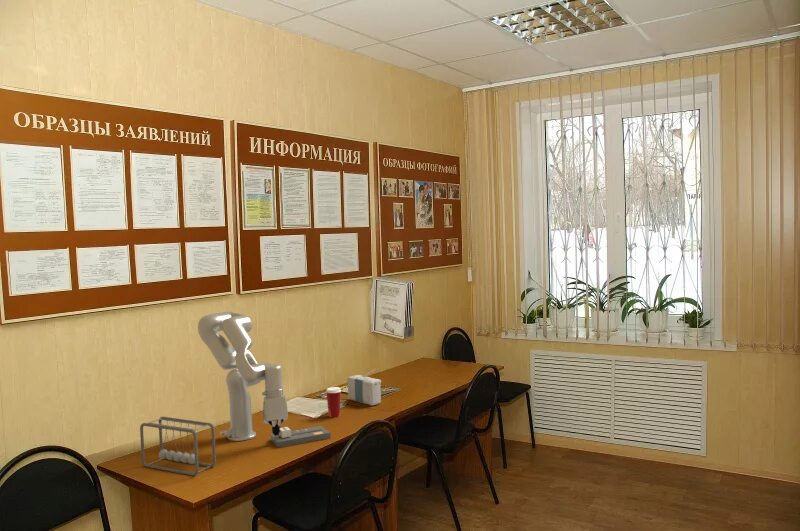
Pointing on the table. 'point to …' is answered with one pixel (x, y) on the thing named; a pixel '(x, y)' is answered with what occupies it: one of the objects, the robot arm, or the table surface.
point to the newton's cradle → (178, 455)
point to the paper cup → (333, 401)
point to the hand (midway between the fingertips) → (276, 434)
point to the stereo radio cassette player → (364, 389)
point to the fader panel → (301, 436)
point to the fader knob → (285, 432)
